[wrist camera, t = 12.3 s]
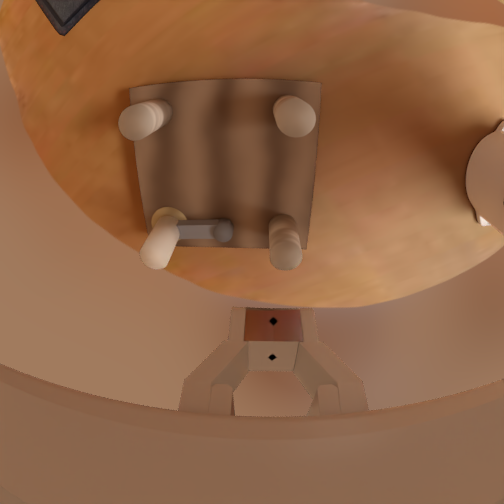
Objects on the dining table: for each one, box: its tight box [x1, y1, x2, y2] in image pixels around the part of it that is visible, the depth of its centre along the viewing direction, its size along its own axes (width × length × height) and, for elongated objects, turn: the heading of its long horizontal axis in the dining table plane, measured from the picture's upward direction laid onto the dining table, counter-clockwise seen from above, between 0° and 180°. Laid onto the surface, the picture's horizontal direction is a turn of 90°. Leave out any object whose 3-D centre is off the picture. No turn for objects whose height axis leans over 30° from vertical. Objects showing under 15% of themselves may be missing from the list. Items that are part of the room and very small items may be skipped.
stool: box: [118, 79, 322, 270], centre depth 33 cm, size 22×22×10 cm
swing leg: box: [139, 216, 234, 270], centre depth 36 cm, size 10×4×7 cm, turn 91°
